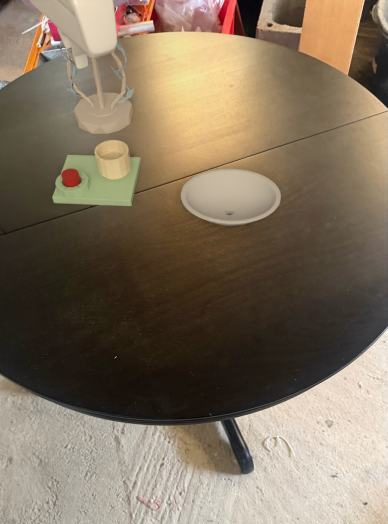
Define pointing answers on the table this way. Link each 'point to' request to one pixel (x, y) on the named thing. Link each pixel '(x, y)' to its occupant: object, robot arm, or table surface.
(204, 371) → the table surface
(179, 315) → the table surface
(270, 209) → the dish
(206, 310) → the table surface
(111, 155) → the beige cup
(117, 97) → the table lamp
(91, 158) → the green base plate
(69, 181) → the button
